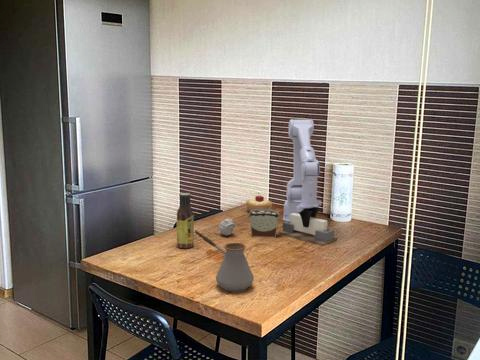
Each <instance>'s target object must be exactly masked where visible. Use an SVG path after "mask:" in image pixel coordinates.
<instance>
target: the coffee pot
mask: <svg viewBox="0 0 480 360" xmlns="http://www.w3.org/2000/svg"><path fill="white" fill-rule="evenodd" d="M193 234H194V237H195V236H196V235H197V236H198V237H200V238H202V240H203V241H204V242H206V243H208V244H209V245H210V246H212V247H214V248H215V249H217V250H218V251H220V252H221V253H222V254H224V257H223V259H222V262H221V264H220V266H219V269H218V271H217V273H216V276H215V281H216V283H217V284H218V286H220V287H221V288H222V289H223V290H225V291H227V292H234V293H235V292H241V291H245V290H246V289H248V288H249V287H250V286H251V285H252V283H253V281H254V278H255V277H254V275H253V272H252V269H251V267H250V265H249V263H248V262H249V261H248V260H247V258H246V255H245V253H244V252H245V250H246V245H245V244H243V243H242V242H230V243H226V244H224V245H223V248H224V249H225V250H224V249H223V248H222V247H220V246H218V245H217V244H216V243H215V242H213V241H212V240H211V239H210V238H209V237H207V236H205V235H203V233H200V232H199V231H198V230H195V231H194V233H193ZM192 236H193V235H192Z"/></svg>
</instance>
